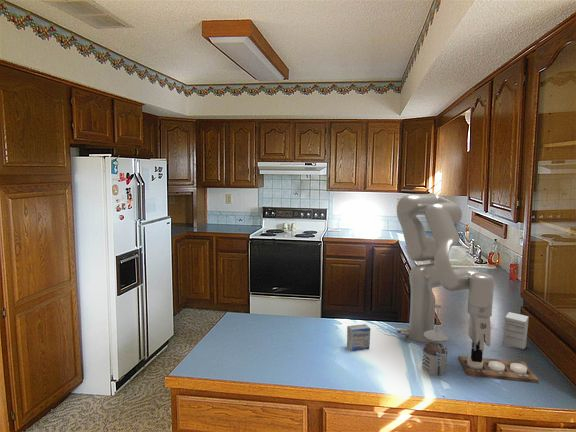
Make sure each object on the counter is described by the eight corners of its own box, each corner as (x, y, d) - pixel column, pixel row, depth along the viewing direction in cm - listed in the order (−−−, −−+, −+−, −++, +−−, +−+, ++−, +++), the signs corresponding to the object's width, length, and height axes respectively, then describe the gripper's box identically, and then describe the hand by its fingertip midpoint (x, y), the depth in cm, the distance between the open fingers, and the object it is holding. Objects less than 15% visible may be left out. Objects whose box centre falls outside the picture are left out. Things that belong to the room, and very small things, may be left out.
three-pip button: (468, 371, 138) (469, 362, 138) (465, 364, 143) (465, 356, 143) (484, 373, 137) (484, 364, 137) (480, 366, 142) (480, 357, 142)
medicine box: (351, 351, 154) (351, 330, 153) (346, 346, 158) (347, 325, 157) (369, 349, 156) (370, 328, 155) (364, 344, 160) (365, 323, 159)
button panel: (466, 379, 135) (466, 371, 135) (458, 362, 147) (458, 355, 147) (538, 386, 131) (538, 379, 131) (523, 368, 143) (524, 361, 143)
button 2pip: (512, 378, 136) (513, 369, 136) (507, 370, 141) (508, 362, 140) (528, 379, 135) (529, 370, 135) (522, 372, 140) (523, 363, 140)
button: (490, 376, 137) (491, 367, 137) (485, 368, 142) (486, 360, 142) (506, 377, 136) (507, 368, 136) (501, 370, 141) (502, 361, 141)
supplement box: (505, 341, 165) (508, 311, 164) (526, 346, 161) (529, 316, 159) (501, 347, 160) (504, 316, 158) (523, 353, 155) (526, 321, 153)
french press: (441, 366, 144) (446, 298, 141) (456, 384, 132) (461, 311, 129) (414, 366, 144) (418, 298, 140) (426, 384, 132) (431, 311, 129)
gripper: (498, 318, 129) (494, 372, 131) (485, 303, 144) (481, 352, 146) (473, 316, 131) (470, 370, 133) (462, 301, 145) (459, 350, 147)
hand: (476, 360), depth 139 cm, fingers closed
